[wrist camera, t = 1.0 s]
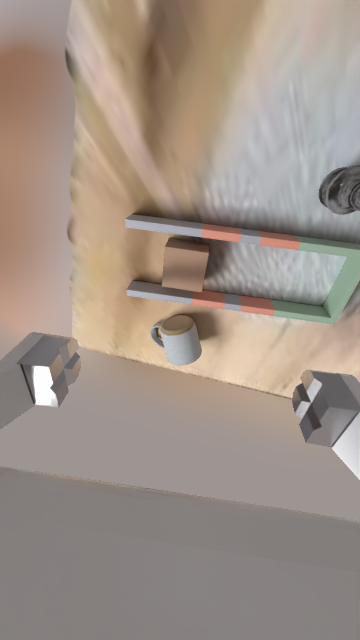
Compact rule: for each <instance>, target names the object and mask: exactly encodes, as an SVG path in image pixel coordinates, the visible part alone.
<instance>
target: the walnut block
mask: <svg viewBox="0 0 360 640" xmlns="http://www.w3.org/2000/svg"><path fill="white" fill-rule="evenodd" d="M208 256H209V244H205V243H199V242H192V241H185V240H178V239H172V238H169V240H168V242H167V244H166V246H165V253H164V265H163V277H162V286H163V287H169V288H176V289H183V290H189V291H196V292H202V287H203V282H204V277H205V272H206V266H207V261H208Z"/></svg>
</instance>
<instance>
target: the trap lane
mask: <svg viewBox="0 0 360 640" xmlns="http://www.w3.org/2000/svg"><path fill="white" fill-rule="evenodd" d="M125 227H127V228H135V229H142V230H150V231H157V232H165V233H173V234H180V235H188V236H195V237H203V238H210V239H218V240H225V241H233V242H241V243H248V244H256V245H263V246H271V247H278V248H286V249H293V250H301V251H308V252H316V253H324V254H331V255H339V256H346V257H347V259H346V261H345V263H344V265H343V267H342V269H341V271H340V273H339V275H338V277H337V279H336V281H335V283H334V285H333V287H332V289H331V291H330V293H329V295H328V297H327V299H326V301H325V303H324V305H323V307H321V306H314V305H307V304H299V303H292V302H285V301H278V300H270V299H263V298H256V297H249V296H241V295H234V294H227V293H220V292H212V291H205V290H202V292H196V291H189V290H183V289H176V288H169V287H163V286H162V285H161V284H154V283H147V282H140V281H132V282H131V284H130V285H129V287H128V288H127V296H134V297H141V298H148V299H155V300H163V301H170V302H177V303H184V304H191V305H198V306H206V307H213V308H220V309H227V310H234V311H242V312H249V313H256V314H263V315H270V316H277V317H285V318H292V319H299V320H306V321H313V322H321V323H328V324H335V323H336V321H337V320H338V318H339V316H340V314H341V313H342V311H343V309H344V307H345V305H346V304H347V302H348V300H349V298H350V297H351V295H352V293H353V291H354V289H355V288H356V286H357V284H358V282H359V281H360V244H356V243H349V242H341V241H333V240H326V239H318V238H311V237H303V236H295V235H288V234H280V233H272V232H265V231H257V230H250V229H242V228H234V227H227V226H219V225H211V224H204V223H196V222H188V221H181V220H173V219H166V218H158V217H150V216H143V215H135V214H131V215H130V216H129V217H127V218H126V219H125Z"/></svg>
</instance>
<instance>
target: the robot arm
mask: <svg viewBox="0 0 360 640" xmlns="http://www.w3.org/2000/svg"><path fill="white" fill-rule="evenodd" d="M77 349H78V342H77V340H76V339H75V338H70V337H63V336H57V335H50V334H43V333H36V332H33V333H30V334H29V335H27V336H26V337H25V338H24V339H23V340H22V341H21V342H20V343H19V344H18V345H17V346H16V347H15V348H13V349H12V350H11V351H10V352H9V353H8V354H7V355H6V356H5V357H4V358H3V359H2V360H1V361H0V429H1V428H3V427H4V426H6V425H7V424H8V423H10V422H11V421H13V420H14V419H16V418H17V417H19V416H20V415H21V414H23V413H24V412H26V411H27V410H29V409H30V408H32V407H33V406H34V404H36V405H44V406H54V407H59V406H60V405H61V403H62V401H63V400H64V398H65V397H66V395H67V393H68V387H67V386H69V385H70V384H72V383H74V382H75V380H76V379H77V377H78V374H79V371H80V368H81V360H80V356H79V355H78V354H77V353H76V350H77ZM300 378H301V380H302V383H301V384H299V385H298V386H296V388H295V390H294V392H293V397H292V403H293V408H294V411H295V413H296V414H297V415H298V416H299V417H300V418H301V419H302V420H301V422H300V424H299V425H300V428H301V430H302V433H303V436H304V439H305V442H306V443H311V444H316V445H322V446H328V447H332V449H333V450H334V452H336V454H337V455H338V456H339V457H340V458H341V459H342V461H343V462H344V463H345V464H346V465H347V466H348V467H349V468H350V470H351V471H352V472H353V473H354V474H355V475H356V476H357V477H358V479H359V480H360V383H359V382H358V380H357V379H356V378H355V377H354V376H352V375H347V374H339V373H336V374H335V373H328V372H320V371H313V370H306V371H304V372H303V374H302V376H301V377H300ZM0 640H360V520H353V519H347V518H340V517H333V516H327V515H320V514H314V513H307V512H301V511H294V510H288V509H281V508H274V507H268V506H261V505H254V504H248V503H242V502H235V501H228V500H222V499H215V498H209V497H202V496H196V495H189V494H183V493H176V492H169V491H162V490H156V489H150V488H142V487H135V486H129V485H123V484H116V483H110V482H103V481H97V480H90V479H83V478H77V477H70V476H63V475H57V474H50V473H43V472H37V471H30V470H24V469H17V468H11V467H4V466H0Z"/></svg>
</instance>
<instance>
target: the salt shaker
mask: <svg viewBox="0 0 360 640" xmlns="http://www.w3.org/2000/svg"><path fill="white" fill-rule="evenodd" d="M319 199H320V201H321V203H322V204H323V205H324V206H326V207H328V208H329V209H330V210H331V211H332V212H334V213H336V214H343V215H344V214H349V213H352V212H354V211H360V166H353V167H349V168H339V169H336V170H334V171H332V172H331V173H330V174H329V175H327V177H326V178H325V179H324V180H323V182H322V184H321V186H320V189H319Z"/></svg>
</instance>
